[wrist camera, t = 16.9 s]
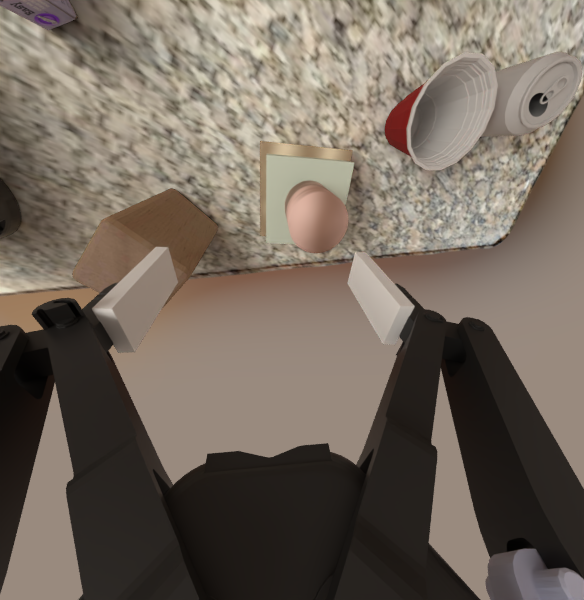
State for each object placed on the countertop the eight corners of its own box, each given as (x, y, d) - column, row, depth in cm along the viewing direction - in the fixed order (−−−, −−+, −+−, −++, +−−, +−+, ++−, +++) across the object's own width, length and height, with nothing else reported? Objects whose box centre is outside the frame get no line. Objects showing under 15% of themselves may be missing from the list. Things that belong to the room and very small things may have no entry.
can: (440, 118, 35) (505, 109, 25) (482, 61, 32) (576, 25, 22) (466, 147, 38) (534, 148, 28) (508, 97, 34) (602, 78, 25)
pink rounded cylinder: (284, 229, 34) (288, 253, 27) (284, 179, 30) (289, 191, 23) (327, 230, 35) (342, 253, 28) (334, 181, 31) (353, 192, 23)
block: (221, 225, 42) (191, 276, 26) (192, 259, 46) (150, 322, 30) (172, 184, 37) (99, 215, 21) (145, 225, 41) (64, 279, 25)
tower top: (266, 232, 39) (266, 243, 35) (266, 153, 32) (266, 154, 28) (330, 235, 41) (337, 246, 37) (344, 160, 34) (354, 162, 30)
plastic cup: (414, 170, 39) (462, 179, 30) (360, 156, 37) (391, 161, 28) (451, 90, 33) (526, 68, 24) (388, 68, 31) (441, 34, 22)
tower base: (261, 227, 43) (260, 235, 39) (261, 141, 35) (260, 141, 31) (328, 231, 45) (334, 239, 41) (343, 149, 37) (352, 150, 33)
